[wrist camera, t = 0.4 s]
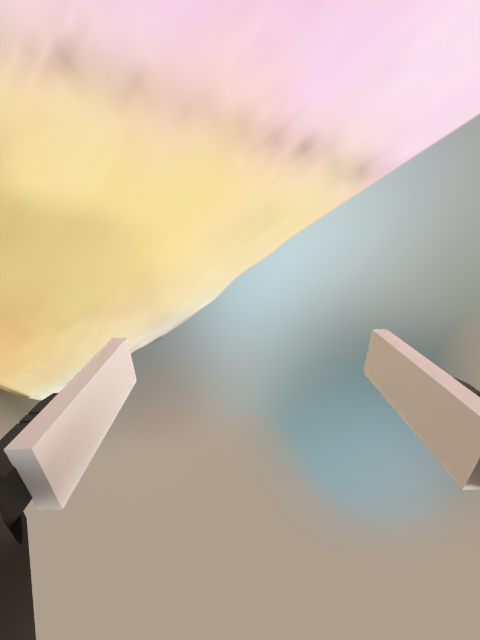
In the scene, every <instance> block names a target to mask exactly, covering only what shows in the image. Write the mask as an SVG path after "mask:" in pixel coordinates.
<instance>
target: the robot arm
mask: <svg viewBox="0 0 480 640" xmlns="http://www.w3.org/2000/svg"><path fill="white" fill-rule="evenodd" d="M363 372H364V374H365V375H366V376H367V377H368V378H369V379H370V381H371V382H372V383H373V384H374V385H375V387H376V388H377V389H378V390H379V391H380V393H381V394H382V395H383V396H384V397H385V399H386V400H387V401H388V402H389V403H390V404H391V406H392V407H393V408H394V409H395V410H396V412H397V413H398V414H399V415H400V416H401V417H402V418H403V420H404V421H405V422H406V423H407V425H408V426H409V427H410V428H411V429H412V431H413V432H414V433H415V434H416V435H417V436H418V437H419V439H420V440H421V441H422V442H423V444H424V445H425V446H426V447H427V448H428V450H429V451H430V452H431V453H432V454H433V455H434V457H435V458H436V459H437V460H438V461H439V463H440V464H441V465H442V466H443V467H444V468H445V470H446V471H447V472H448V473H449V474H450V475H451V477H452V478H453V479H454V480H455V482H456V483H457V484H458V485H459V486H460V487H461V489H462V490H474V489H480V392H479V391H478V390H476V389H475V388H474V387H472V386H471V385H469V384H467V383H465V382H463V381H461V380H459V379H457V378H455V377H451V376H450V375H449V374H447V373H446V372H444V371H443V370H442V369H440V368H439V367H438V366H436V365H435V364H434V363H432V362H431V361H429V360H428V359H427V358H425V357H424V356H423V355H421V354H420V353H419V352H417V351H416V350H414V349H413V348H411V347H410V346H409V345H407V344H406V343H405V342H403V341H402V340H400V339H399V338H398V337H396V336H395V335H394V334H393V333H391V332H389V331H388V330H387V329H374V330H372V334H371V339H370V343H369V348H368V353H367V357H366V362H365V367H364V371H363ZM136 381H137V380H136V375H135V371H134V367H133V362H132V358H131V354H130V349H129V345H128V341H127V338H112V339H111V340H110V341H109V342H108V343H107V344H106V345H105V346H104V347H103V348H102V349H101V350H100V351H99V352H98V353H97V354H96V355H95V356H94V357H93V358H92V359H91V360H90V362H89V363H88V364H87V365H86V366H85V367H84V368H83V369H82V370H81V371H80V372H79V373H78V374H77V375H76V376H75V377H74V378H73V379H72V380H71V381H70V382H69V383H68V384H67V385H66V386H65V387H64V388H63V389H62V390H61V391H60V392H59V393H53V394H52V395H50V396H48V397H47V398H45V399H44V400H42V401H40V402H39V403H38V404H37V405H36V406H35V407H34V408H33V409H32V410H31V411H30V412H29V414H28V415H26V416H25V417H24V418H23V419H22V420H20V423H19V424H16V425H15V426H14V428H12V429H11V430H10V431H9V432H8V433H7V434H6V435H5V436H4V437H3V438H2V439H1V440H0V640H36V635H35V622H34V610H33V597H32V583H31V570H30V558H29V545H28V532H27V519H26V516H25V514H24V512H23V511H24V509H25V508H26V506H27V505H28V504H29V502H30V501H31V499H32V500H33V502H34V504H35V505H36V507H37V509H38V510H57V509H63V508H64V506H65V504H66V502H67V501H68V499H69V497H70V495H71V494H72V492H73V490H74V488H75V487H76V485H77V483H78V482H79V480H80V478H81V476H82V475H83V473H84V471H85V470H86V468H87V466H88V464H89V463H90V461H91V459H92V457H93V456H94V454H95V452H96V450H97V449H98V447H99V445H100V443H101V442H102V440H103V438H104V436H105V435H106V433H107V431H108V430H109V428H110V426H111V424H112V423H113V421H114V419H115V417H116V416H117V414H118V412H119V410H120V409H121V407H122V405H123V403H124V402H125V400H126V398H127V397H128V395H129V393H130V391H131V390H132V388H133V386H134V384H135V383H136Z"/></svg>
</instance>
